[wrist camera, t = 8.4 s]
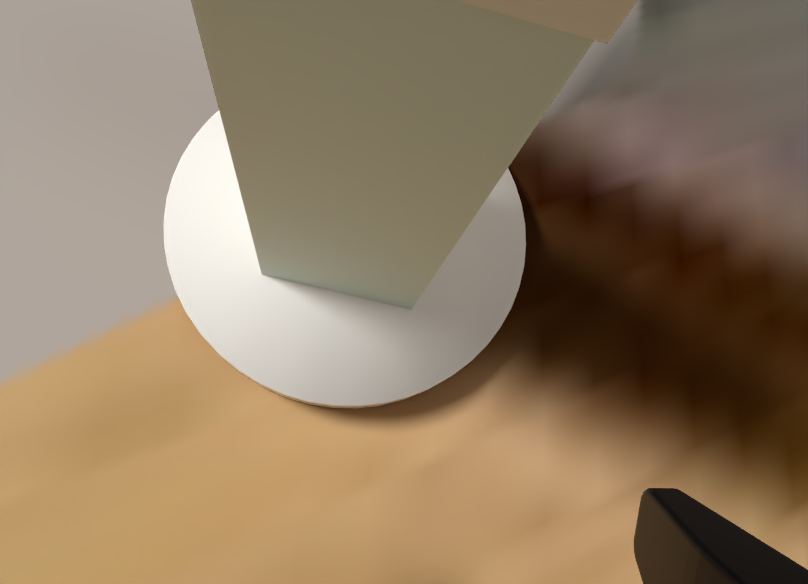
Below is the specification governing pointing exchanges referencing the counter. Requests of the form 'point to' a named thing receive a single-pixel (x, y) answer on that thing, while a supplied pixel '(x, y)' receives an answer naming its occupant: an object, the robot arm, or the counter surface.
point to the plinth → (331, 296)
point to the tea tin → (382, 122)
